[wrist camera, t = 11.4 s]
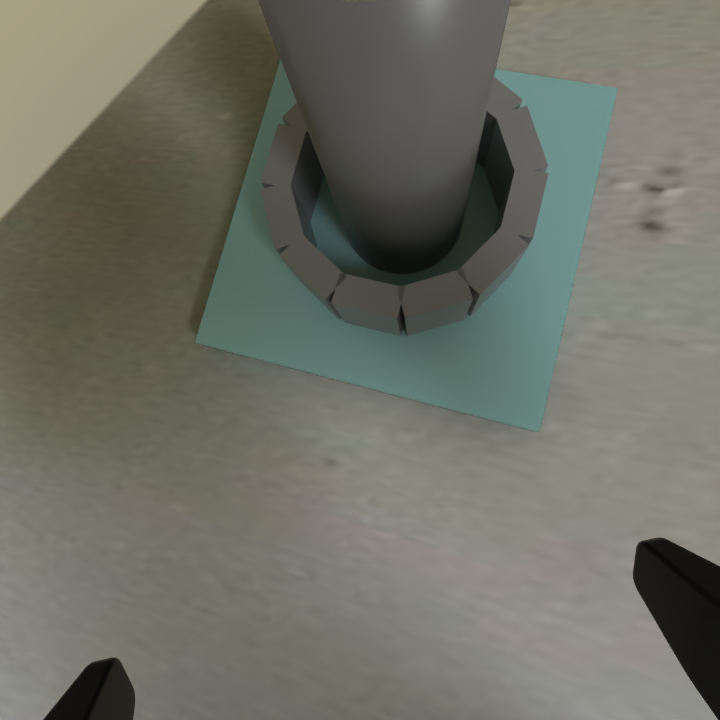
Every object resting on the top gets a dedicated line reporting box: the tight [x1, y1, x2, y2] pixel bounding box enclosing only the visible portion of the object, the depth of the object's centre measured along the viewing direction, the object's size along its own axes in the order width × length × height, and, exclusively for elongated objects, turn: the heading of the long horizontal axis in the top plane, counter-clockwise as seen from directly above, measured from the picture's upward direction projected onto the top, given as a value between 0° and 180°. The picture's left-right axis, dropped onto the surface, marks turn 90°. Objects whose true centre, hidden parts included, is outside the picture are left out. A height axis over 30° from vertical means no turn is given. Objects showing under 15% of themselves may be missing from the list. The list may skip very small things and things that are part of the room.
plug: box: [258, 0, 511, 274], centre depth 12 cm, size 4×4×12 cm
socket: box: [195, 59, 618, 432], centre depth 17 cm, size 13×13×4 cm
